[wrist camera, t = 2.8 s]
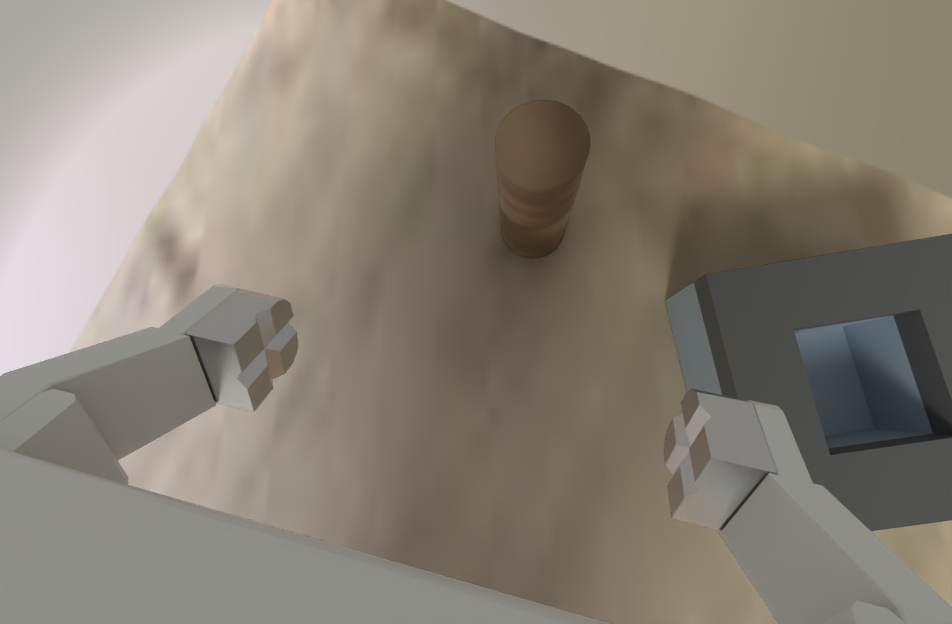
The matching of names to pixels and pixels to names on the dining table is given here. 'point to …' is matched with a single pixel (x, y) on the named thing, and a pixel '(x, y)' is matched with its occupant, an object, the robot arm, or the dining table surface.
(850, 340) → the socket block
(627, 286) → the dining table surface
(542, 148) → the walnut peg
